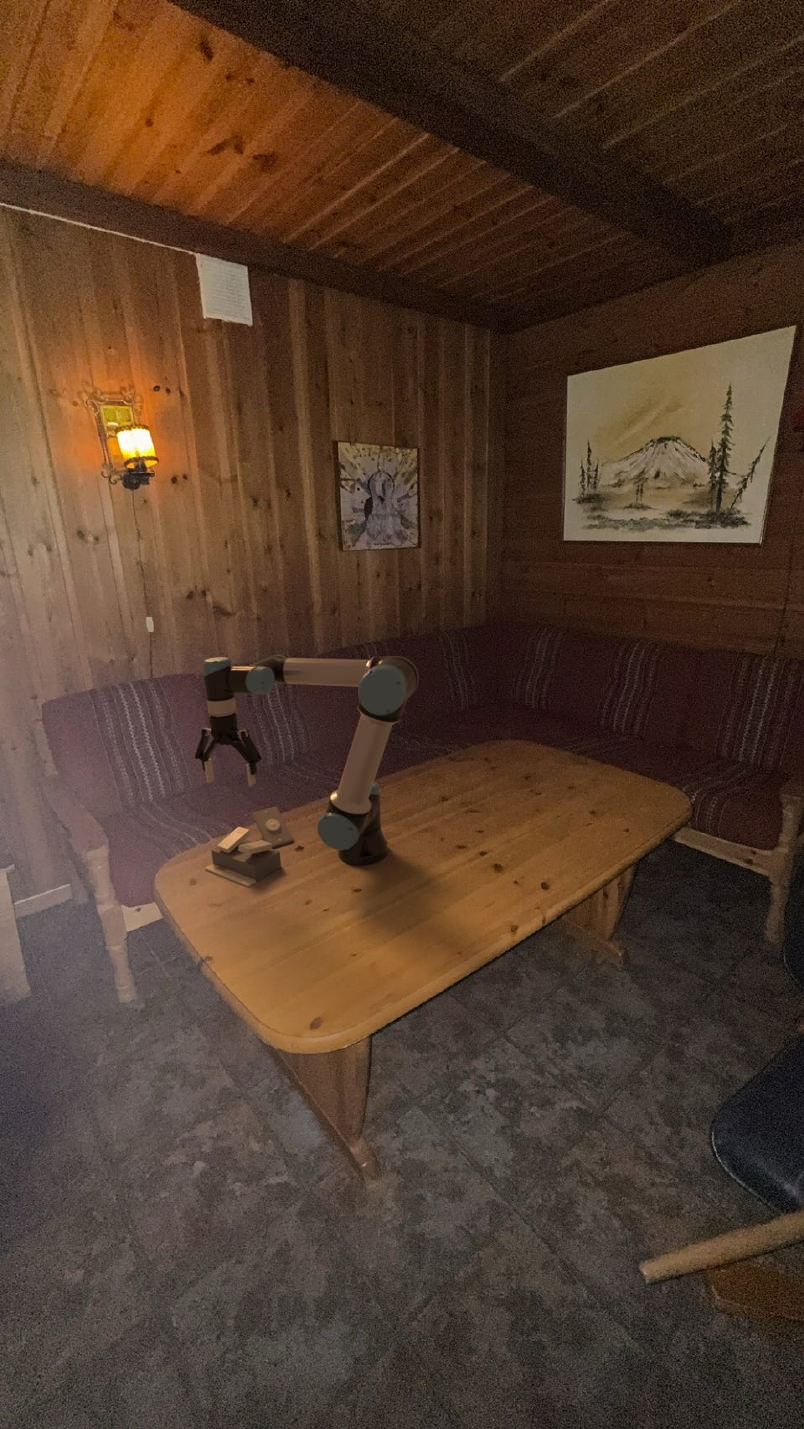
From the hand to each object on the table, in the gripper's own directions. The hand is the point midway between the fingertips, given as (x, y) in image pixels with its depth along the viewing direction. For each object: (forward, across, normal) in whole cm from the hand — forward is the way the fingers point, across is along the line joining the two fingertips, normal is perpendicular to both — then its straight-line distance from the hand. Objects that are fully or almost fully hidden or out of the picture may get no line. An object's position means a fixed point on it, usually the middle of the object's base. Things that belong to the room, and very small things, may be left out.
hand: (231, 783), depth 181 cm
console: (+25, -3, +4) cm, 26 cm away
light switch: (+26, -3, -16) cm, 30 cm away
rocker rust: (+18, +1, +1) cm, 18 cm away
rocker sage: (+18, -8, +4) cm, 20 cm away
